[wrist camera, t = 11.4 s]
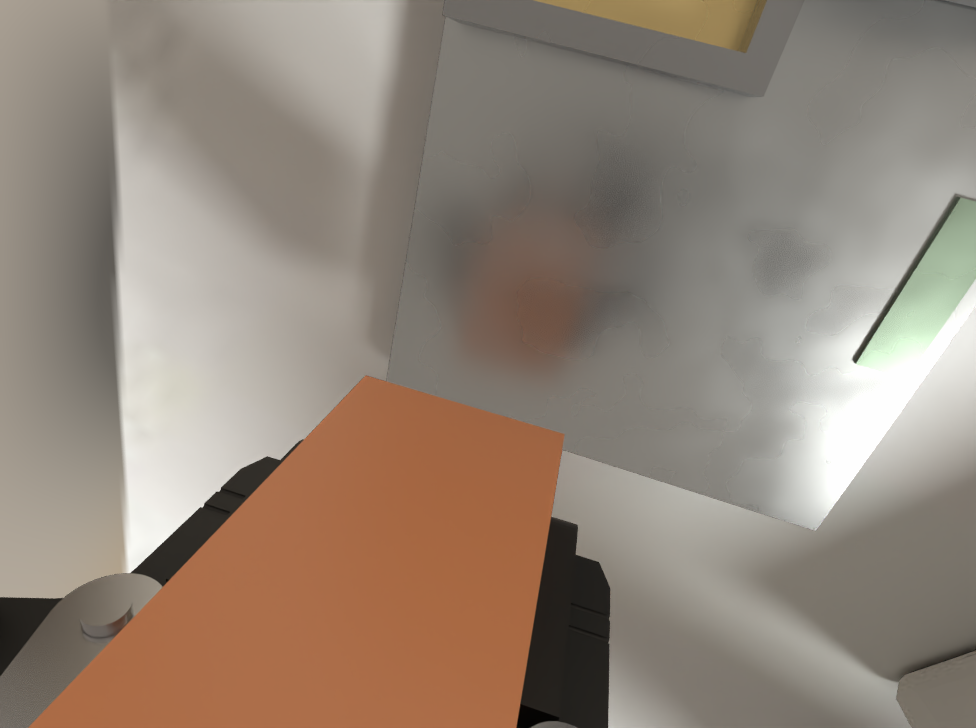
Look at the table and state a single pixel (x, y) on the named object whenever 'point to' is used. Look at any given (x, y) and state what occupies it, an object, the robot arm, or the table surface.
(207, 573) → the cap
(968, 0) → the breaker slider
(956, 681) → the electrical switch
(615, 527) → the table surface
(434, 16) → the table surface
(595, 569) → the robot arm
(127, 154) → the table surface
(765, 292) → the panel
